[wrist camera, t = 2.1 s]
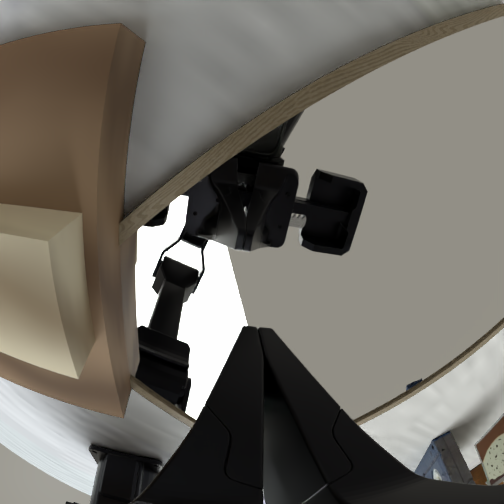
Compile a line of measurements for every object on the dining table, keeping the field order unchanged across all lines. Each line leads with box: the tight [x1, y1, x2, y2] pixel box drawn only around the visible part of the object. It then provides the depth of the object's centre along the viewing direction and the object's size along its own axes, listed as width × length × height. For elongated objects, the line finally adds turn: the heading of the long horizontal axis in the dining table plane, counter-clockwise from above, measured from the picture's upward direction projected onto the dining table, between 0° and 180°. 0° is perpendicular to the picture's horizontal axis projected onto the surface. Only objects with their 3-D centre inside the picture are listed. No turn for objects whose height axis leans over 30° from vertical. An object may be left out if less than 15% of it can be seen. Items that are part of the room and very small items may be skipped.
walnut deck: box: [0, 23, 145, 418], centre depth 9 cm, size 16×10×2 cm, turn 169°
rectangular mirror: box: [119, 4, 504, 428], centre depth 13 cm, size 19×1×28 cm
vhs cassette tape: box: [414, 432, 476, 484], centre depth 22 cm, size 18×3×10 cm, turn 15°
